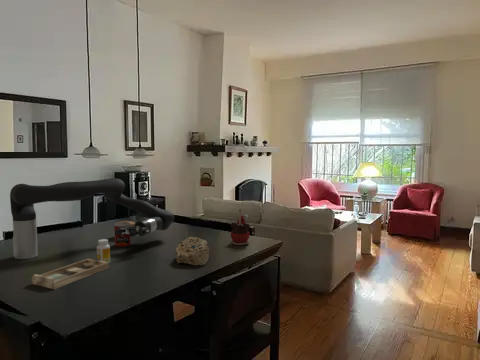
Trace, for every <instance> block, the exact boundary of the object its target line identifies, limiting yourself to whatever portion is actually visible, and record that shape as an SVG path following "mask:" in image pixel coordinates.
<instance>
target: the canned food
mask: <svg viewBox="0 0 480 360" xmlns="http://www.w3.org/2000/svg"><path fill="white" fill-rule="evenodd" d="M119 222H120V223H117V222H115V223H116V224H115V223H114V232H115V231H116V230H118V228H119V227H124V226H130V223H128V222H123V221H119ZM127 232H129V230H128V231H127ZM131 238H132V237H130V236H129V234H126V233H124V234H119V235H115V234H114V244H115V247H121V248H123V247H128V246H130V245H131V243H132V242H131V241H132V240H131Z"/></svg>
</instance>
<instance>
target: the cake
mask: <svg viewBox="0 0 480 360" xmlns="http://www.w3.org/2000/svg"><path fill="white" fill-rule="evenodd" d="M238 211H239V213H238V219H237V221H236V222H235V221H232V222H231V223H230V227H231V228H232V229H231V231H230V238H231V240H230V243H231V244H232V245H237V246H244V245H248V244H250V240H249V239H250V231H249V229H251V225H249V223H247V222H246V219H248V218H249V216H248V214H243V215H242V209H241V208H239V209H238Z"/></svg>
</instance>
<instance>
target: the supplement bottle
mask: <svg viewBox="0 0 480 360" xmlns="http://www.w3.org/2000/svg"><path fill="white" fill-rule="evenodd" d="M97 243H98V245H96V260H99V261H104V262H109V263H111V246H110V245H109V239H107V238H102V239H98V240H97Z"/></svg>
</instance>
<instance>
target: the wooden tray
mask: <svg viewBox="0 0 480 360" xmlns="http://www.w3.org/2000/svg"><path fill="white" fill-rule="evenodd" d="M107 269H110V262H104V261H99V260H97V259H93V258H86V259H83V260H80V261H77V262H74V263H70V264H68V265H65V266H61V267H59V268H56V269H53V270H50V271H46V272H44V273H42V274H37V273H36V274H33V275H32V277H31V285H35V286H38V287H39V286H40V287H43V288H48V289H51V290H57V289H59V288H62V287H64V286H66V285H69V284H71V283H75V282H77V281H79V280H82V279H85V278H87V277H89V276H92V275H95V274H98V273H100V272H103V271H105V270H107Z"/></svg>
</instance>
